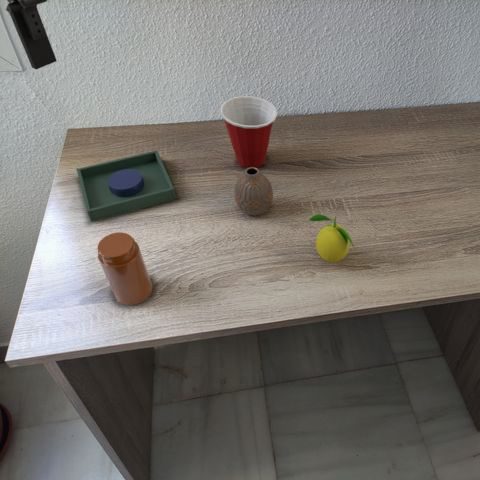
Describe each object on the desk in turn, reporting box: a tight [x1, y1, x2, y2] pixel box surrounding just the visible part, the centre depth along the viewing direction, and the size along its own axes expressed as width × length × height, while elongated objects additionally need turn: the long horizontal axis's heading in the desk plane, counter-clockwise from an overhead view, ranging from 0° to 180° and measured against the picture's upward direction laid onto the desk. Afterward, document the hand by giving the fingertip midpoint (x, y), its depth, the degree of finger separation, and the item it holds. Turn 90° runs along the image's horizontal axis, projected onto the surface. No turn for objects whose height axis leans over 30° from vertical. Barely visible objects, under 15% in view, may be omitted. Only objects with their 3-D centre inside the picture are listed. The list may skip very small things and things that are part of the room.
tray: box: [76, 150, 178, 223], centre depth 89 cm, size 15×13×2 cm
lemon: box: [308, 213, 355, 263], centre depth 76 cm, size 7×6×10 cm
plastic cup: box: [219, 95, 278, 169], centre depth 93 cm, size 11×11×12 cm
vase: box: [233, 167, 274, 217], centre depth 84 cm, size 7×7×9 cm
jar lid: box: [108, 169, 144, 197], centre depth 88 cm, size 6×6×2 cm
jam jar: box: [97, 231, 154, 306], centre depth 69 cm, size 6×6×11 cm
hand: (9, 48), depth 57 cm, fingers open, 13 cm apart
